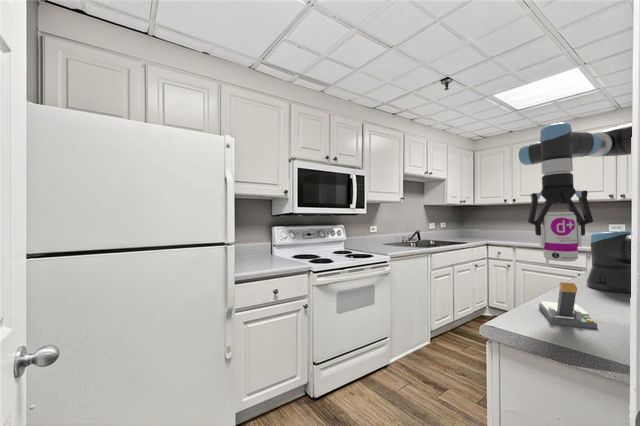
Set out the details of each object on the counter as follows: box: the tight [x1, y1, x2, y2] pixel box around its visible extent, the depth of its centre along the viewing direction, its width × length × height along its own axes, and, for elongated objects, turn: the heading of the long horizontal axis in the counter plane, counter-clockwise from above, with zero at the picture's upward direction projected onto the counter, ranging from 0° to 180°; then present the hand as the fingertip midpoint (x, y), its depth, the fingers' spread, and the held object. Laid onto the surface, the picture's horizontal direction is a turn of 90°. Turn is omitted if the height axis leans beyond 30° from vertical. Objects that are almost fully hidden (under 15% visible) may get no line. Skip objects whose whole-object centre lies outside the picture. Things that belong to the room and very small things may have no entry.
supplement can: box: [541, 211, 579, 262], centre depth 89 cm, size 8×8×15 cm
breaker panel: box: [538, 300, 598, 330], centre depth 86 cm, size 10×14×4 cm
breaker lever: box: [555, 282, 578, 318], centre depth 81 cm, size 4×2×11 cm, turn 64°
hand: (559, 245), depth 89 cm, fingers closed on supplement can, 8 cm apart
